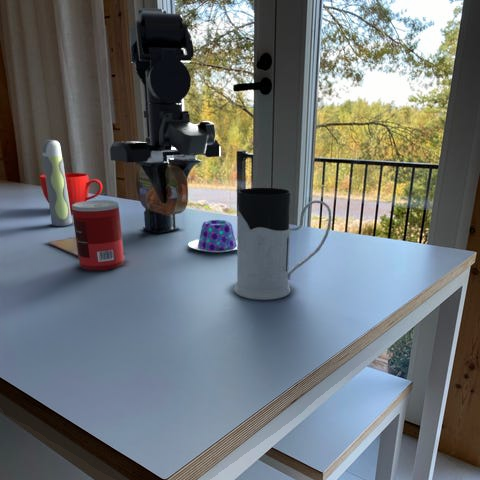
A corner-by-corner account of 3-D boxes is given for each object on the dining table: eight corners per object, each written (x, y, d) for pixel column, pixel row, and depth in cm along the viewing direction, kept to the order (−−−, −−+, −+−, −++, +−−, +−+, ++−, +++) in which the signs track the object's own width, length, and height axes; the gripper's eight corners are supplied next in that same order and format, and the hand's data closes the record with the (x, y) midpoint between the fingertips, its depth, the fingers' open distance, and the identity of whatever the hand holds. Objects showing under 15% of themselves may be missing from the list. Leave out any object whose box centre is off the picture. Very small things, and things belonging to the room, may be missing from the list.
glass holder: (235, 280, 78) (235, 187, 72) (321, 281, 78) (328, 187, 72) (233, 299, 70) (232, 195, 64) (329, 300, 70) (338, 196, 64)
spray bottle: (74, 225, 119) (63, 140, 111) (54, 227, 116) (41, 140, 108) (69, 222, 122) (57, 139, 115) (49, 224, 120) (36, 139, 112)
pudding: (258, 247, 99) (258, 222, 97) (216, 258, 90) (216, 231, 88) (217, 238, 106) (217, 214, 104) (176, 247, 98) (175, 222, 96)
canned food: (132, 261, 89) (126, 201, 84) (108, 273, 82) (100, 208, 78) (97, 257, 91) (90, 199, 87) (70, 268, 84) (61, 206, 80)
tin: (137, 206, 90) (131, 160, 87) (151, 204, 92) (147, 158, 89) (177, 219, 80) (173, 167, 76) (193, 216, 81) (189, 165, 78)
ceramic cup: (98, 215, 131) (94, 178, 127) (37, 215, 131) (31, 177, 127) (110, 207, 143) (107, 173, 139) (55, 207, 143) (49, 172, 139)
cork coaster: (79, 238, 106) (79, 237, 106) (120, 254, 93) (119, 252, 93) (48, 243, 101) (48, 242, 101) (86, 260, 89) (86, 259, 89)
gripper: (142, 102, 65) (150, 216, 71) (241, 104, 77) (241, 202, 83) (103, 103, 73) (113, 206, 79) (199, 105, 84) (201, 194, 91)
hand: (170, 202), depth 83 cm, fingers closed on tin, 3 cm apart
